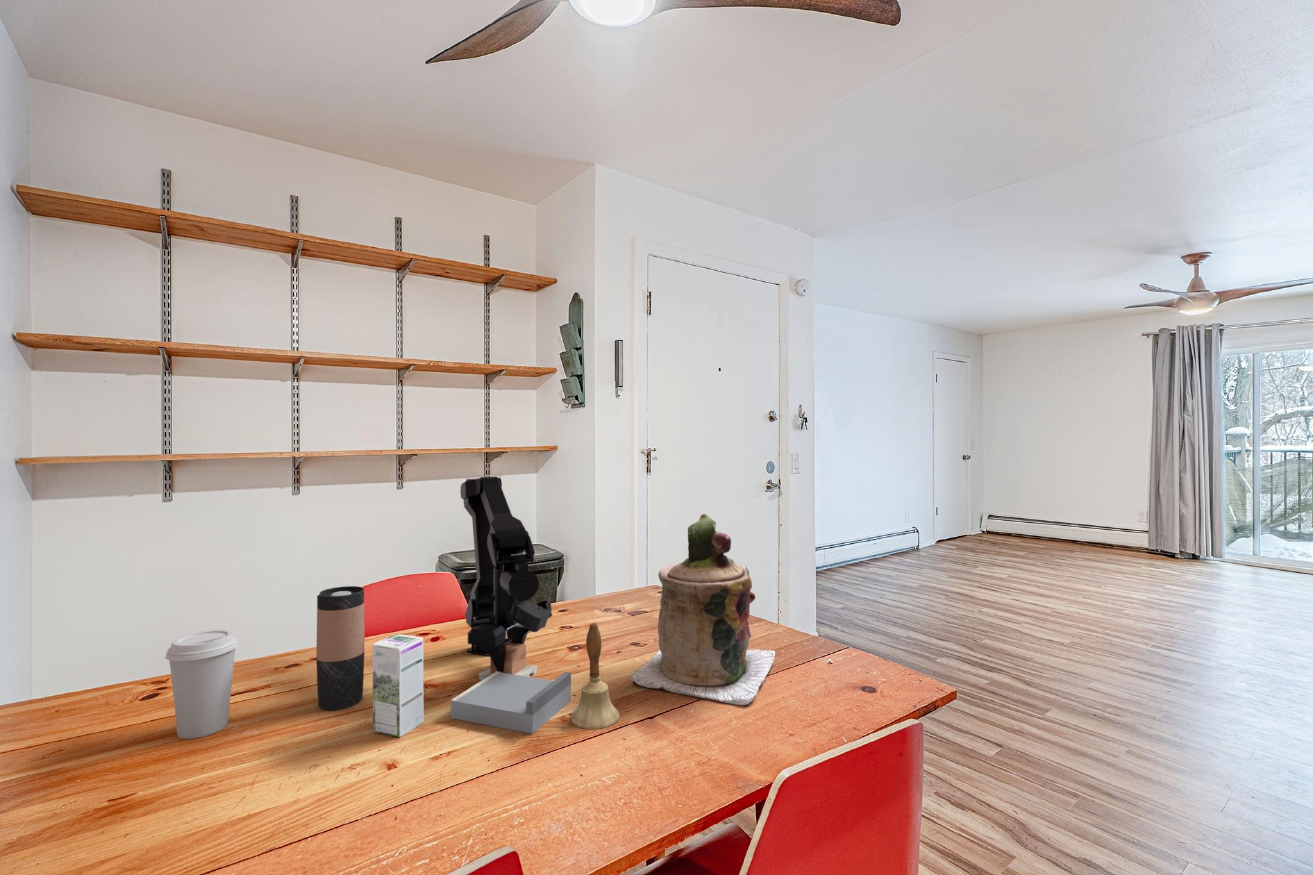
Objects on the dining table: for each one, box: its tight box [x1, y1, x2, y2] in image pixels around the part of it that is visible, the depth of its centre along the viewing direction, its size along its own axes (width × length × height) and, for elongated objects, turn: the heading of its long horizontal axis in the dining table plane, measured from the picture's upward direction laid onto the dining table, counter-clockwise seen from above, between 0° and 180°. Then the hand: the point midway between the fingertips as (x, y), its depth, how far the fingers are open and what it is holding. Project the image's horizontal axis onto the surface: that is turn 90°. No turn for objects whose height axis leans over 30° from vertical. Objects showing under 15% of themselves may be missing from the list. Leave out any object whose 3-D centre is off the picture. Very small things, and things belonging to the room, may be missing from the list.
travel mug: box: [315, 585, 365, 712], centre depth 105 cm, size 8×8×20 cm
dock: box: [450, 671, 572, 735], centre depth 102 cm, size 16×13×5 cm
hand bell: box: [570, 622, 620, 730], centre depth 99 cm, size 8×8×16 cm
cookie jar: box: [630, 513, 776, 706], centre depth 118 cm, size 25×25×32 cm
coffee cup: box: [164, 629, 240, 740], centre depth 95 cm, size 10×10×15 cm
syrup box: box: [371, 633, 425, 738], centre depth 96 cm, size 6×6×14 cm
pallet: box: [478, 642, 538, 681], centre depth 116 cm, size 9×7×6 cm
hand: (508, 666), depth 116 cm, fingers closed on pallet, 5 cm apart
